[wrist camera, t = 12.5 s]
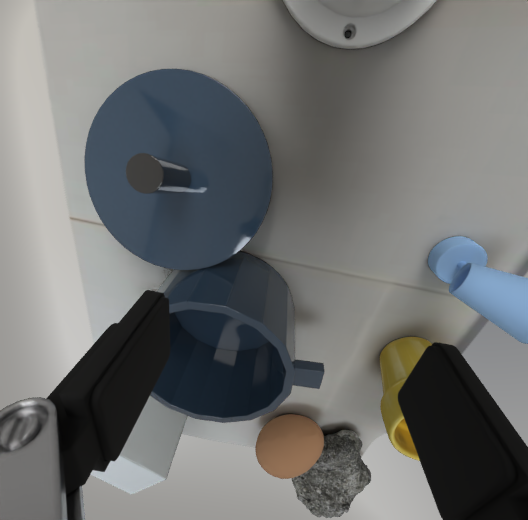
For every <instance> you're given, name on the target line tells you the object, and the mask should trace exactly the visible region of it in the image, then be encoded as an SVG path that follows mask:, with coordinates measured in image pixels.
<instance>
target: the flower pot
mask: <svg viewBox="0 0 528 520" xmlns="http://www.w3.org/2000/svg"><path fill="white" fill-rule="evenodd" d="M431 345H432V343H431V342H429V341H428V340H426V339H423V338H419V337H404V338H400V339H397V340H394V341H392V342H390V343H389V344H388V345H386V346H385V347H384V349H383V350H382V352H381V354H380V367H381V376H382V384H383V393H384V395H383V397H382V400H381V406H380V407H381V413H382V417H383V421H384V424H385V427H386V431H387V434H388V436H389V439H390V441H391V443H392V445H393V446H394V447H395V448H396V449H397V450H398V451H399V452H400V453H402V454H403V455H405V456H408V457H410V458H412V459H415V460H419V461H420V459H419V457H418V454H417V451H416V449H415V446H414V443H413V441H412V438H411V435H410V433H409V430H408V427H407V424H406V422H405V419H404V416H403V414H402V411H401V408H400V406H399V403H398V392H399V390H400V389H401V387H402V386H403V384H404V383H405V381H406V379H407V378H408V376H409V375H410V373H411V372H412V370H413V368H414V367H415V365H416V364H417V362H418V361H419V359H420V357H421V356H422V354H423V353H424V351H425V350H426V348H427V347H428V346H431Z"/></svg>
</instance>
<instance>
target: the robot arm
mask: <svg viewBox="0 0 528 520" xmlns="http://www.w3.org/2000/svg"><path fill="white" fill-rule="evenodd" d="M436 1H437V0H283V2H284V3H285V5H286V7H287V9H288V10H289V12H290V14H291V16H292V17H293V18H294V19H295V20H296V22H297V23H298V24H299V25H300V26H301V27H302V28H303V30H304V31H306V32H307V33H308V34H310V35H311V36H313V37H314V38H315V39H317V40H318V41H320V42H323V43H325V44H328V45H330V46H332V47H338V48H345V49H357V48H367V47H370V46H373V45H376V44H379V43H383V42H385V41H386V40H388V39H390V38H392V37H394V36H396V35H398V34H399V33H401V32H402V31H404V30H405V29H406V28H408V27H409V26H410V25H412V24H413V23H414V22H415V21H417V20H418V19H419V18H420V17H421V16H422V15H423V14H424V13H425V12H426V11H427V10H429V9H430V8H431V7H432V5H433V4H434V3H435V2H436ZM346 31H350V33H351V37H350V38H348V39H347V38H345V36H344V33H345V32H346ZM169 355H170V315H169V299H168V298H165V295H164V293H161V292H155V291H150V290H147V291H145V292H144V293H143V295H142V296H141V297H140V298H139V299H138V300H137V302H136V303H135V304H134V305H133V306H132V308H131V309H130V310H129V311H128V312H127V314H126V315H125V316H124V317H123V318H122V320H121V321H120V322H119V323H114V324H112V325H111V326H110V327H109V328H108V329H107V330H106V331H105V332H104V333H103V334H102V335H101V337H100V338H99V339H98V340H97V341H96V342H95V343H94V345H93V346H92V347H91V348H90V349H89V350H88V352H87V353H86V354H85V355H84V356H83V358H81V360H80V361H79V362H78V363H77V364H76V365H75V367H74V368H73V369H72V370H71V371H70V372H69V373H68V375H67V376H66V377H65V378H64V379H63V380H62V381H61V383H60V384H59V385H58V386H57V387H56V388H55V390H54V391H53V392H52V393H51V394H50V395H49V396H48V398H47V399H45V398H41V397H39V398H28V399H24V400H20V401H18V402H15V403H13V404H11V405H9V406H6V407H5V408H3V409H2V410H0V520H85V513H84V503H83V494H82V493H83V492H82V485H84V484H85V483H86V481H87V479H88V477H89V476H90V474H91V472H92V470H95V471H100V472H105V470H106V468H107V467H108V465H109V463H110V461H116V460H117V458H118V457H119V455H120V453H121V451H122V449H123V447H124V446H125V444H126V442H127V440H128V438H129V436H130V434H131V432H132V430H133V428H134V426H135V424H136V422H137V420H138V418H139V416H140V414H141V412H142V410H143V408H144V406H145V404H146V402H147V400H148V398H149V396H150V394H151V392H152V390H153V388H154V387H155V385H156V383H157V381H158V379H159V377H160V375H161V373H162V371H163V369H164V367H165V365H166V363H167V361H168V359H169ZM398 403H399V406H400V408H401V411H402V414H403V416H404V419H405V422H406V424H407V427H408V430H409V433H410V435H411V438H412V441H413V443H414V446H415V449H416V451H417V454H418V457H419V459H420V462H421V465H422V467H423V470H424V473H425V475H426V478H427V481H428V483H429V486H430V489H431V491H432V494H433V497H434V499H435V502H436V505H437V508H438V510H439V513H440V515H441V517H442V518H443V520H528V447H527V446H526V444H525V443H524V441H523V440H522V439H521V437H520V436H519V435H518V433H517V432H516V430H515V429H514V427H513V426H512V425H511V423H510V422H509V420H508V419H507V418H506V416H505V415H504V413H503V412H502V411H501V409H500V408H499V406H498V405H497V404H496V402H495V401H494V399H493V398H492V397H491V395H490V394H489V392H488V391H487V390H486V388H485V387H484V385H483V384H482V383H481V381H480V380H479V378H478V377H477V376H476V374H475V373H474V371H473V370H472V369H471V367H470V366H469V364H468V363H467V362H466V360H465V359H464V357H463V356H462V355H461V353H460V352H459V350H458V349H457V348H456V347H455V346H453V345H448V344H443V343H433V344H432V345H431V346H428V347H427V348H426V350H425V351H424V353H423V354H422V356H421V357H420V359H419V361H418V362H417V364H416V365H415V367H414V368H413V370H412V372H411V373H410V375H409V376H408V378H407V379H406V381H405V383H404V384H403V386H402V387H401V389H400V390H399V392H398Z"/></svg>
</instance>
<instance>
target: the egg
mask: <svg viewBox="0 0 528 520" xmlns="http://www.w3.org/2000/svg"><path fill="white" fill-rule="evenodd" d="M323 447H324V436H323V433H322V430H321V429H320V427H319V426H318V425H317V424H316V423H315V422H314V421H313V420H311V419H310V418H307V417H304V416H301V415H294V414H287V415H282V416H279V417H276V418H274V419H272V420H271V421H269V422H268V423H267V424H266V425H265V426H264V427H263V428H262V430H261V432H260V433H259V436H258V438H257V442H256V456H257V459H258V462H259V464H260V465H261V467H262V468H263V469H264V470H265V471H266V472H267V473H269V474H270V475H272V476H274V477H278V478H281V479H284V478H285V479H288V478H294V477H297V476H299V475H301V474H303V473H305V472H306V471H308V470H309V469H310V468H311V467H312V466H313V465H314V464H315V463H316V461H317V460H318V459H319V457H320V455H321V453H322V450H323Z"/></svg>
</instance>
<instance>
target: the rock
mask: <svg viewBox="0 0 528 520" xmlns="http://www.w3.org/2000/svg"><path fill="white" fill-rule="evenodd" d="M361 447H362V441H361V440H360V439H359V437H358V435H357V434H356V433H355V432H354V431H350V430H341V431H339V432H337V433H335V434H332V435H327V436H324V447H323V450H322V453H321V455H320V457H319V459H318V460H317V461H316V463H315V464H314V465H313V466H312V467H311V468H310V469H309V470H308V471H306V472H305V473H303V474H301V475H299V476H297V477H294V478H292V481H293V484H294V487H295V489H296V493H297V497H298V499H299V500H300V501H301V502H303V504H304V505H306V507H307V508H308V509H309V510H310V511H311V513H312V514H313V515H315V516H317V517H321V516H324V517H326V518H328V517H330V518H331V517H333V516H335V517H340V516H342V514H343V513H344V512H346V513H347V512H348V510H349V508H350V504H351V502H352V501H353V499H354V497H355V496H356V495H357V494H358V493H360V492H361V491H363V489H364V487H365V486H366V485H368V484H369V483H370V481H371V473H370V470H369V469H368V468H367V465H365V464H364V463H363V461H362V459H361V456H360V453H359V452H360V449H361Z"/></svg>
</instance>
